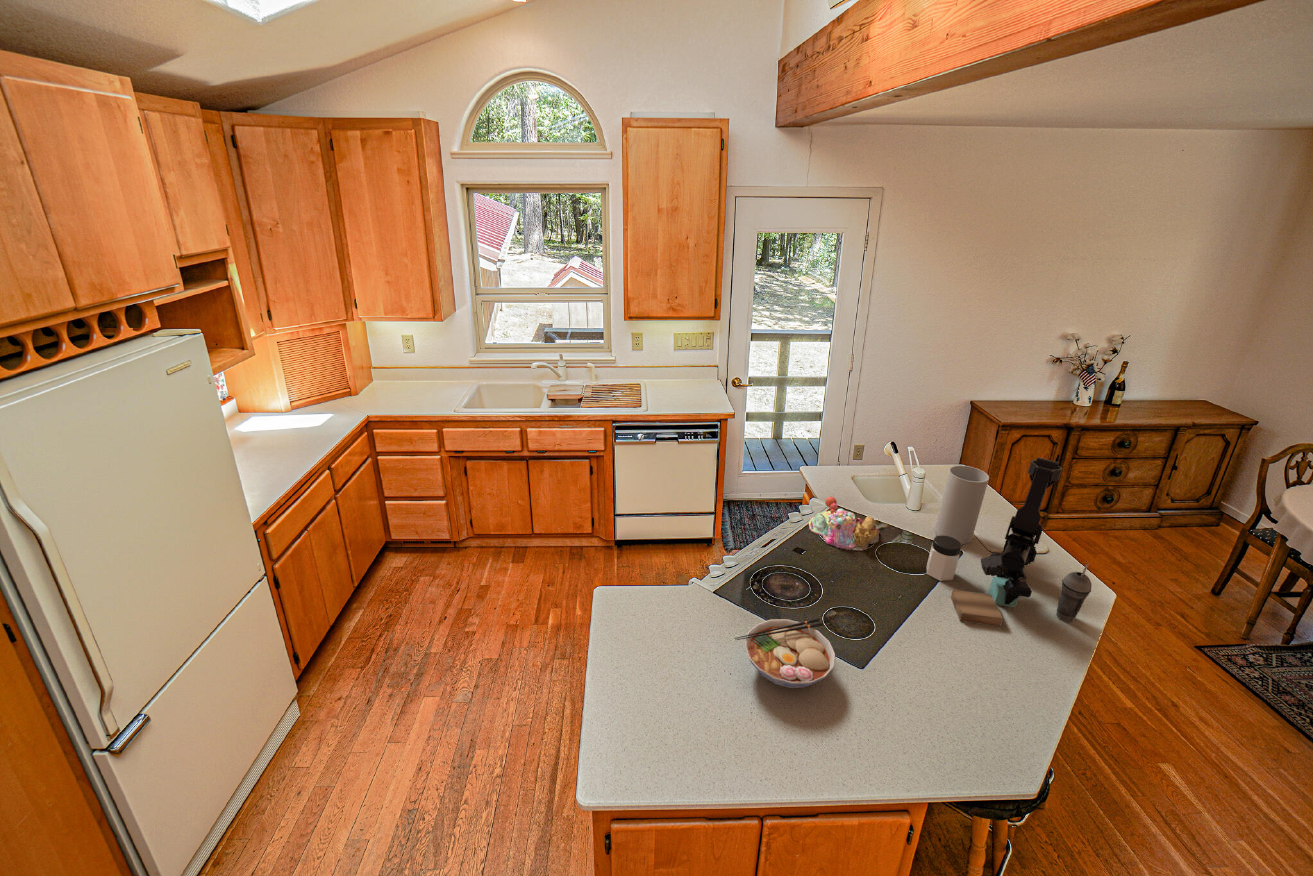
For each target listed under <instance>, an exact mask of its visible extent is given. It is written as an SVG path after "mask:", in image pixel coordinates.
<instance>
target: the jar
mask: <svg viewBox="0 0 1313 876" xmlns="http://www.w3.org/2000/svg"><path fill="white" fill-rule="evenodd" d="M961 549H962V544H961V543H960V542H959V541H958V540H956V539H954V538H952V537H949V536H944V535H940V536H937V535H936V536H934V538H933V541H932V543H931V547H930V551H929V555H928V559H927V562H926V574H927V575H928V576H930V577H931V578H933V579H935V580H938V581H940V582H944V581H952V580H954V577H955V573H956V569H957V566H958V563H959V559H960V552H961Z"/></svg>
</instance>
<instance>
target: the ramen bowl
mask: <svg viewBox="0 0 1313 876" xmlns="http://www.w3.org/2000/svg"><path fill="white" fill-rule="evenodd" d="M823 626H824V624H823V622H820V618H817V617H816V618H815V619H809V620H806V621H801V622H800V621H795V620H792V619H787V618H783V619H781V618H780V619H779V618H778V619H774V618H773V619H768V620H766V621H762V622H760V623H757V624H755V625H754V627H752V628H751V629H750V630H749V631H748V632H747V634H745V635H742V636H738V637H734V640H735V641H738V640H744V646H745V647H744V648H745V651H746V654H747V658H748V660H749V662H750V663H751V664H752V665H753V667H754V668H755V669H756V670H757V671H758V673H759V674H760V675H761V676H762V677H764V678H766V679H767V680H768V681H770V682H772V683H774V684H775V685H778V686H782V687H786V688H790V689H793V688H798V689H799V688H806V687H809V686H811V685H814V684H816V683H818V682H820V681H822V680H823V679H825V677H827V676H828V674H829V673H830V672H831V671H832V670H833V668H834V667H835V663H836V662H835V661H836V653H835V650H834V648H833V646H832V643H831V642H830V640H829V639H828V638H826V637H825V636H824V635H823V634H822V633H821V632H820V631H819V630H818V629H815V628H817V627H823Z"/></svg>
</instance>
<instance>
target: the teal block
mask: <svg viewBox="0 0 1313 876" xmlns="http://www.w3.org/2000/svg"><path fill="white" fill-rule="evenodd" d="M1008 580H1009V578H1001V577H997V576H992V579H991V582H990V586H989V589H988V594H991V595H992V597H993V599H994V601H995V603H996V605H997V606H1003V607H1004V606H1005V607H1012V608H1016V607H1017V603H1018V600H1019V598H1020V597H1018V598H1017V599H1015V600H1014V601H1013V602H1011V603H1010V604H1009V605H1007V604H1005V595H1006V591H1005V589H1004V587H1003V585H1005V582H1006V581H1008Z"/></svg>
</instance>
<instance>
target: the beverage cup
mask: <svg viewBox="0 0 1313 876" xmlns="http://www.w3.org/2000/svg"><path fill="white" fill-rule="evenodd" d="M1089 565H1090V563H1088V562H1087V563H1086V564H1085V566H1084V569H1083V571H1082V572H1081V571H1072V572H1069V573H1067V574H1065V576H1064V577H1063V579H1062V580H1061V590H1060V596H1059V599H1058V604H1057V606H1056V607H1057V608H1056V613H1055V617H1056V618H1057V619H1059V620H1060V621H1062V622H1065V623H1073V622H1074V620H1075V619H1076V618H1077V616H1078V614H1079V612H1080V610H1081V608H1082V606H1083V604H1084V602H1085V600H1086V599H1087V597H1088V596H1089V594H1090V593H1091V592H1092V587H1093V586H1092V584H1093V583H1092V581H1091V579H1090V577H1089V576H1088V575H1087V574H1085V573H1086V571H1087V568H1088V567H1089Z"/></svg>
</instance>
